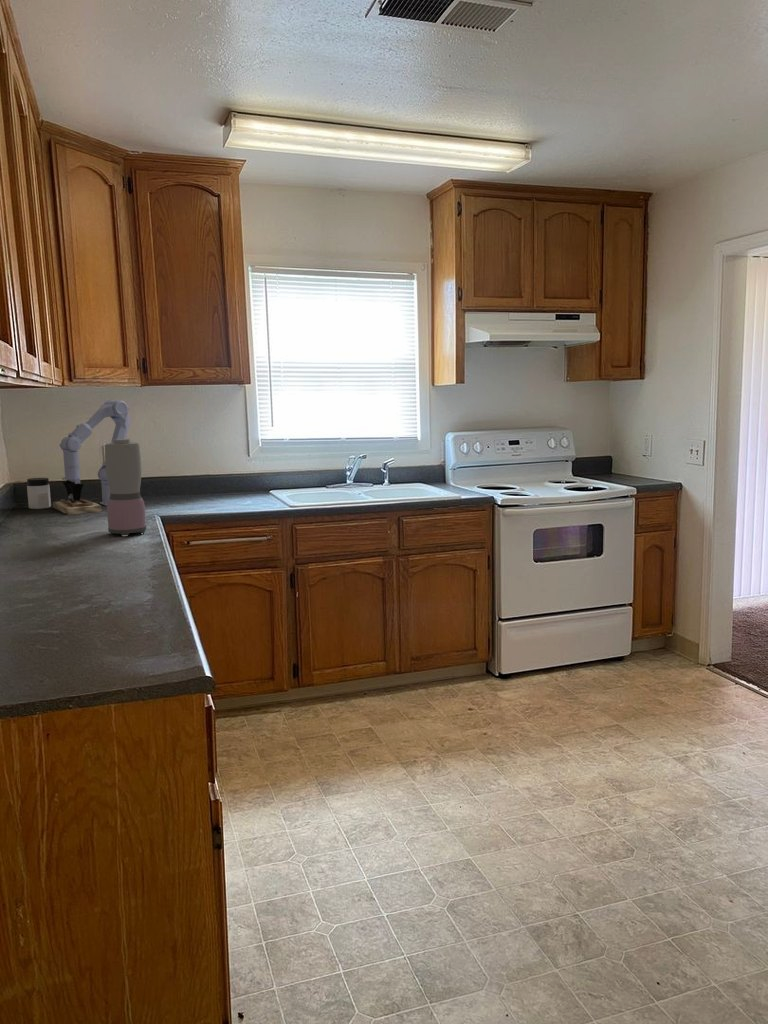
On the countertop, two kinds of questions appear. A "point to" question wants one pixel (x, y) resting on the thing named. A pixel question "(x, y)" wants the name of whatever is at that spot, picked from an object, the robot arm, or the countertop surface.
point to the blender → (124, 487)
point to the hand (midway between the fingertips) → (74, 499)
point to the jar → (38, 493)
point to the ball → (71, 498)
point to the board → (77, 506)
